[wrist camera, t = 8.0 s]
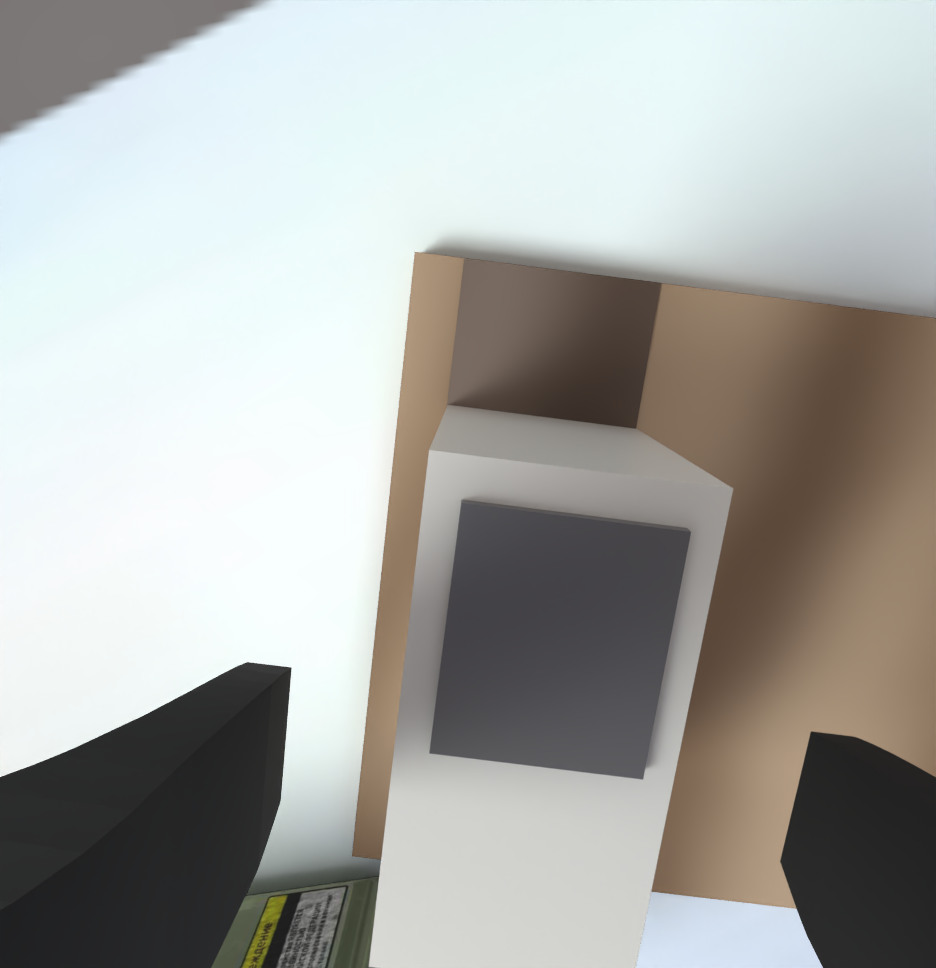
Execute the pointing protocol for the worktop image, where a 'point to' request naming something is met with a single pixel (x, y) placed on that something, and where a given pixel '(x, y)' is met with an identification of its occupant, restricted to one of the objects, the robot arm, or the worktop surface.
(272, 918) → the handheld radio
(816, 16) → the worktop surface
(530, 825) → the block
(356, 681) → the worktop surface
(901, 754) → the board
